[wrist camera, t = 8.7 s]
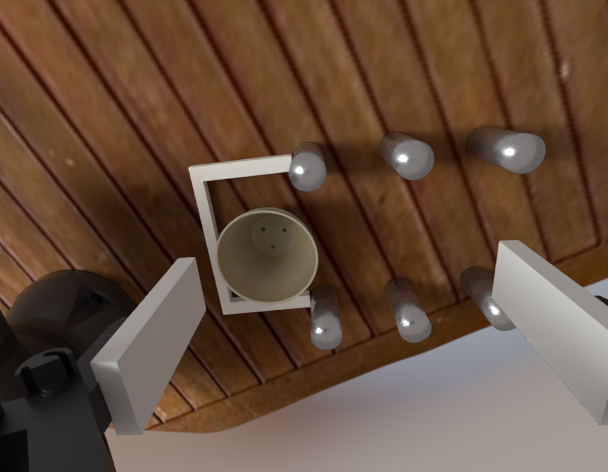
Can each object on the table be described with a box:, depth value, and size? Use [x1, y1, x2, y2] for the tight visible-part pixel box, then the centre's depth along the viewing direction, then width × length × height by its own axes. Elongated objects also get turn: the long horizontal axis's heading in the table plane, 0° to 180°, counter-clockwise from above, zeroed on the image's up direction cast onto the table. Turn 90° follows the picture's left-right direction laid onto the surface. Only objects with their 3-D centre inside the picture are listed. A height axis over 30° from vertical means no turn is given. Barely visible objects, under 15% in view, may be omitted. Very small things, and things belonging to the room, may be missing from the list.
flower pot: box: [215, 207, 318, 305], centre depth 38 cm, size 10×10×7 cm
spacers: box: [289, 126, 546, 350], centre depth 36 cm, size 21×20×8 cm
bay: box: [189, 154, 311, 315], centre depth 41 cm, size 11×18×1 cm, turn 7°
